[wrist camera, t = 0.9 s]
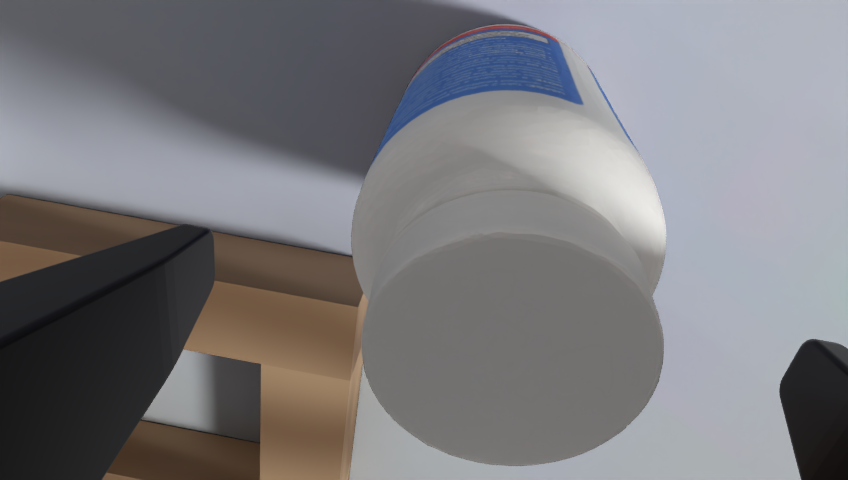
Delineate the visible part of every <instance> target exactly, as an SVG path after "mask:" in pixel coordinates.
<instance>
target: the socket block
mask: <svg viewBox="0 0 848 480" xmlns="http://www.w3.org/2000/svg"><path fill="white" fill-rule="evenodd" d="M176 226H179V225H173V224H168V223H162V222H157V221H151V220H146V219H140V218H135V217H129V216H124V215H119V214H113V213H108V212H102V211H97V210H91V209H86V208H80V207H75V206H69V205H64V204H58V203H53V202H48V201H42V200H37V199H31V198H26V197H20V196H15V195H9V194H7V195H5V196H3V197H2V198H0V281H4V280H7V279H10V278H13V277H16V276H20V275H23V274H26V273H29V272H32V271H36V270H39V269H42V268H45V267H48V266H52V265H55V264H58V263H61V262H64V261H68V260H71V259H74V258H77V257H80V256H84V255H87V254H90V253H93V252H96V251H100V250H103V249H106V248H109V247H112V246H116V245H119V244H122V243H125V242H128V241H132V240H135V239H138V238H141V237H144V236H148V235H151V234H154V233H157V232H160V231H164V230H167V229H170V228H173V227H176ZM212 233H213V237H214V253H215V281H214V285H213V288H212V291H211V293H210V295H209V297H208V299H207V301H206V303H205V305H204V307H203V309H202V311H201V313H200V315H199V317H198V320H197V322H196V324H195V326H194V328H193V330H192V332H191V334H190V336H189V338H188V340H187V342H186V344H185V346H184V348H183V349H184V350H190V351H195V352H200V353H206V354H211V355H216V356H221V357H227V358H232V359H237V360H242V361H248V362H253V363H258V364H261V413H260V444H259V443H254V442H249V441H244V440H239V439H234V438H229V437H223V436H218V435H213V434H208V433H203V432H198V431H192V430H187V429H182V428H177V427H172V426H167V425H162V424H156V423H151V422H146V421H141V420H140V422H139V423H138V425H137V426H136V428H135V429H134V431H133V432H132V434H131V435H130V437H129V439H128V440H127V442H126V443H125V445H124V446H123V448H122V449H121V451H120V453H119V454H118V456H117V457H116V459H115V460H114V462H113V463H112V465H111V466H110V468H109V470H108V471H107V473H106V474H105V476H104V477H103V479H102V480H349V474H350V466H351V458H352V449H353V441H354V432H355V424H356V416H357V407H358V399H359V390H360V382H361V374H362V365H363V359H362V350H361V336H362V328H363V323H364V319H365V315H366V311H367V307H368V303H369V302H368V300H367V299H366V297H365V295H364V293H363V291H362V288H361V286H360V283H359V281H358V278H357V274H356V271H355V267H354V263H353V257H348V256H343V255H337V254H332V253H326V252H321V251H315V250H310V249H304V248H299V247H293V246H288V245H282V244H277V243H272V242H266V241H261V240H255V239H250V238H244V237H239V236H233V235H228V234H222V233H217V232H212Z"/></svg>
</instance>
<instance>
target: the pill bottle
mask: <svg viewBox="0 0 848 480" xmlns="http://www.w3.org/2000/svg"><path fill="white" fill-rule="evenodd" d="M351 247H352V255H353V263H354V267H355V271H356V274H357V278H358V281H359V283H360V286H361V288H362V291H363V293H364V295H365V297H366V299H367V300H368V302H369V303H368V307H367V311H366V315H365V319H364V323H363V328H362V336H361V350H362V359H363V364H364V370H365V373H366V377H367V379H368V381H369V384H370V386H371V389H372V391H373V392H374V394H375V396H376V398H377V399H378V401H379V402H380V404H381V405H382V407H383V408H384V409H385V410H386V412H387V413H388V414H389V415H390V416H391V417H392V418H393V419H394V420H395V421H396V422H397V423H398V424H399V425H400V426H402V427H403V428H404V429H405V430H406V431H408V432H409V433H411V434H412V435H413V436H415V437H416V438H418V439H419V440H421V441H422V442H423V443H425V444H427V445H429V446H431V447H434V448H436V449H438V450H440V451H442V452H445V453H447V454H449V455H452V456H456V457H459V458H463V459H466V460H470V461H474V462H479V463H485V464H492V465H506V466H527V465H538V464H544V463H551V462H556V461H560V460H564V459H568V458H571V457H574V456H577V455H580V454H582V453H585V452H587V451H590V450H592V449H594V448H596V447H598V446H599V445H601V444H603V443H605V442H607V441H608V440H610V439H611V438H613V437H614V436H616V435H617V434H619V433H620V432H621V431H623V430H624V429H625V428H626V426H627V425H629V424H630V423H631V422H632V421H633V420H634V419H635V418H636V417H637V416H638V415H639V414H640V413H641V411H642V410H643V409H644V407H645V406H646V405H647V403H648V402H649V400H650V398H651V397H652V395H653V393H654V391H655V388H656V386H657V384H658V381H659V378H660V373H661V369H662V365H663V354H664V339H663V332H662V327H661V323H660V319H659V315H658V312H657V309H656V306H655V303H654V300H653V297H652V295H653V293H654V291H655V289H656V286H657V284H658V281H659V279H660V275H661V272H662V268H663V264H664V259H665V251H666V226H665V218H664V213H663V208H662V205H661V202H660V199H659V196H658V193H657V189H656V186H655V184H654V181H653V179H652V177H651V175H650V173H649V171H648V169H647V167H646V165H645V163H644V161H643V160H642V158H641V156H640V154H639V152H638V151H637V149H636V147H635V146H634V144H633V142H632V141H631V139H630V137H629V136H628V134H627V132H626V131H625V129H624V127H623V125H622V123H621V122H620V120H619V118H618V116H617V115H616V113H615V112H614V110H613V108H612V106H611V104H610V103H609V101H608V99H607V97H606V96H605V94H604V92H603V90H602V88H601V86H600V84H599V83H598V81H597V80H596V78H595V76H594V74H593V73H592V71H591V70H590V68H589V67H588V65H587V64H586V63H585V62H584V61H583V60H582V59H581V57H580V56H579V55H578V54H577V53H576V52H575V51H574V50H573V49H572V48H570V47H569V46H568V45H567V44H565V43H564V42H562V41H561V40H559V39H558V38H556V37H554V36H552V35H550V34H548V33H546V32H544V31H541V30H538V29H535V28H532V27H528V26H522V25H514V24H495V25H488V26H483V27H479V28H476V29H472V30H469V31H467V32H464V33H462V34H460V35H458V36H455V37H454V38H452V39H450V40H449V41H447V42H445V43H444V44H443V45H441V46H440V47H439V48H437V49H436V50H435V51H434V52H433V53H432V54H431V55H430V56H429V57H428V58H427V59H426V60H425V61H424V62H423V64H422V65H421V66H420V67H419V69H418V70H417V71H416V73H415V74H414V76H413V77H412V79H411V81H410V83H409V84H408V86H407V88H406V91H405V93H404V95H403V97H402V99H401V102H400V104H399V106H398V108H397V110H396V112H395V114H394V116H393V118H392V120H391V122H390V124H389V127H388V129H387V131H386V133H385V136H384V138H383V140H382V142H381V144H380V146H379V148H378V151H377V153H376V155H375V157H374V159H373V162H372V164H371V166H370V168H369V170H368V173H367V175H366V177H365V180H364V182H363V185H362V188H361V191H360V193H359V196H358V199H357V202H356V206H355V210H354V215H353V222H352V232H351Z"/></svg>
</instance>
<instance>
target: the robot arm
mask: <svg viewBox="0 0 848 480" xmlns="http://www.w3.org/2000/svg"><path fill="white" fill-rule="evenodd" d="M214 281H215V253H214V237H213V233H212V231H211V230H210V229H208V228H205V227H199V226H194V225H188V224H183V225H180V226H176V227H173V228H170V229H167V230H164V231H160V232H157V233H154V234H151V235H148V236H144V237H141V238H138V239H135V240H132V241H128V242H125V243H122V244H119V245H116V246H112V247H109V248H106V249H103V250H100V251H96V252H93V253H90V254H87V255H84V256H80V257H77V258H74V259H71V260H68V261H64V262H61V263H58V264H55V265H52V266H48V267H45V268H42V269H39V270H36V271H32V272H29V273H26V274H23V275H20V276H16V277H13V278H10V279H7V280H4V281H0V480H102V479H103V477H104V476H105V474H106V473H107V471H108V470H109V468H110V466H111V465H112V463H113V462H114V460H115V459H116V457H117V456H118V454H119V453H120V451H121V449H122V448H123V446H124V445H125V443H126V442H127V440H128V439H129V437H130V435H131V434H132V432H133V431H134V429H135V428H136V426H137V425H138V423H139V422H140V420H141V418H142V417H143V415H144V414H145V412H146V411H147V409H148V408H149V406H150V404H151V403H152V401H153V400H154V398H155V397H156V395H157V394H158V392H159V391H160V389H161V387H162V386H163V384H164V383H165V381H166V380H167V378H168V376H169V375H170V373H171V371H172V370H173V368H174V366H175V364H176V362H177V360H178V358H179V356H180V355H181V352H182V350H183V348H184V346H185V344H186V342H187V340H188V338H189V336H190V334H191V332H192V330H193V328H194V326H195V324H196V322H197V320H198V317H199V315H200V313H201V311H202V309H203V307H204V305H205V303H206V301H207V299H208V297H209V295H210V293H211V291H212V288H213V285H214ZM780 399H781V403H782V407H783V411H784V415H785V419H786V422H787V426H788V430H789V434H790V438H791V442H792V446H793V450H794V454H795V458H796V462H797V466H798V469H799V473H800V477H801V480H848V349H847V348H846V347H844V346H842V345H840V344H838V343H834V342H828V341H823V340H817V339H810V340H807V341H806V342H804V343H803V344H802V345H801V347H800V348H799V350H798V352H797V354H796V355H795V357H794V359H793V361H792V362H791V364H790V366H789V368H788V369H787V371H786V373H785V374H784V376H783V378H782V380H781V384H780Z"/></svg>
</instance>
